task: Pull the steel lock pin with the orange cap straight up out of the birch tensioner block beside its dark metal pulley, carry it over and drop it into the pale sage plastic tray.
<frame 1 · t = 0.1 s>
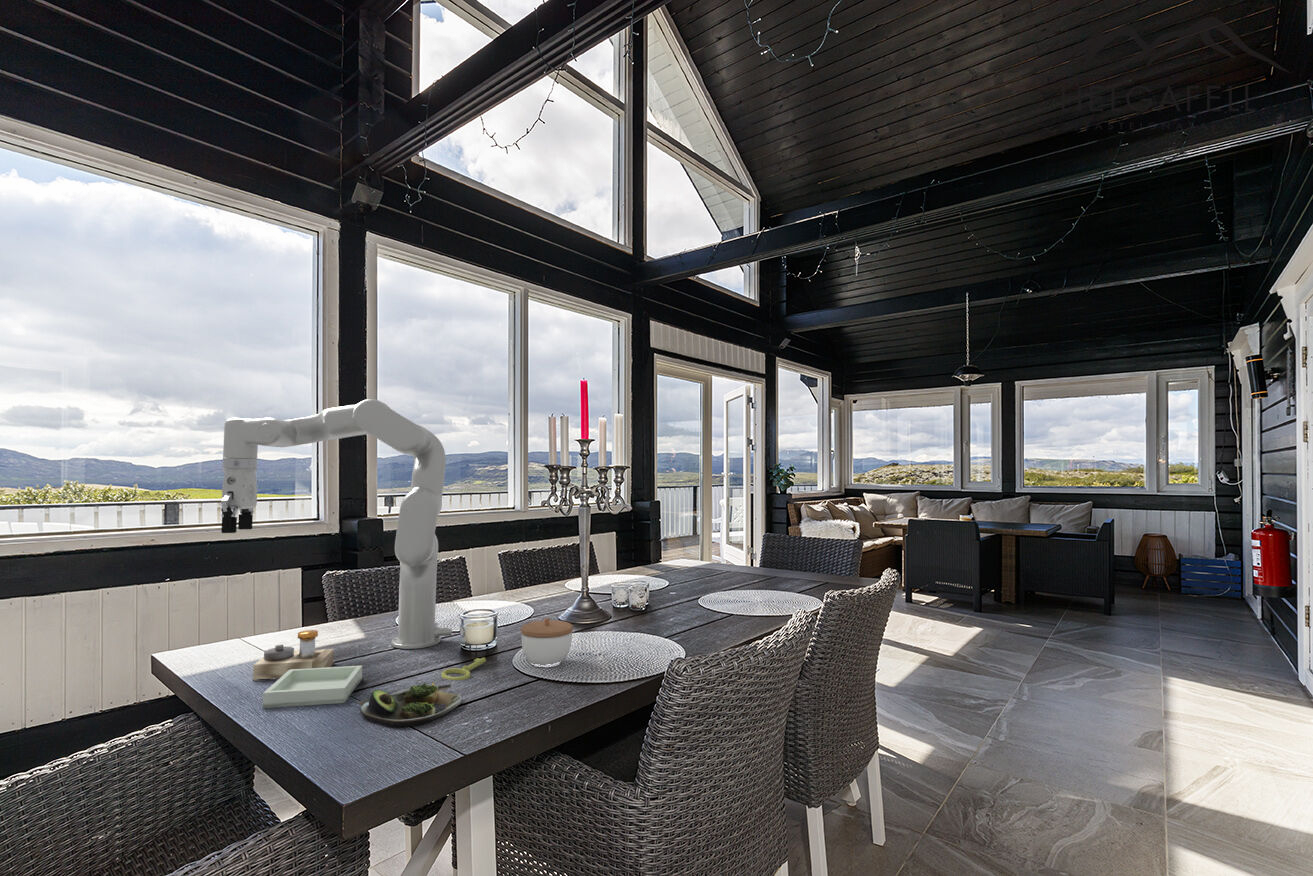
hand: (237, 531, 164), 31 cm above the table, tool pointing down, fingers open, 9 cm apart
lidded bowl: (546, 664, 155), on the table
tensioner block: (294, 671, 147), on the table
salad plate: (409, 712, 125), on the table
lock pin: (306, 671, 148), resting in tensioner block
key: (465, 674, 148), on the table
tray: (315, 692, 134), on the table
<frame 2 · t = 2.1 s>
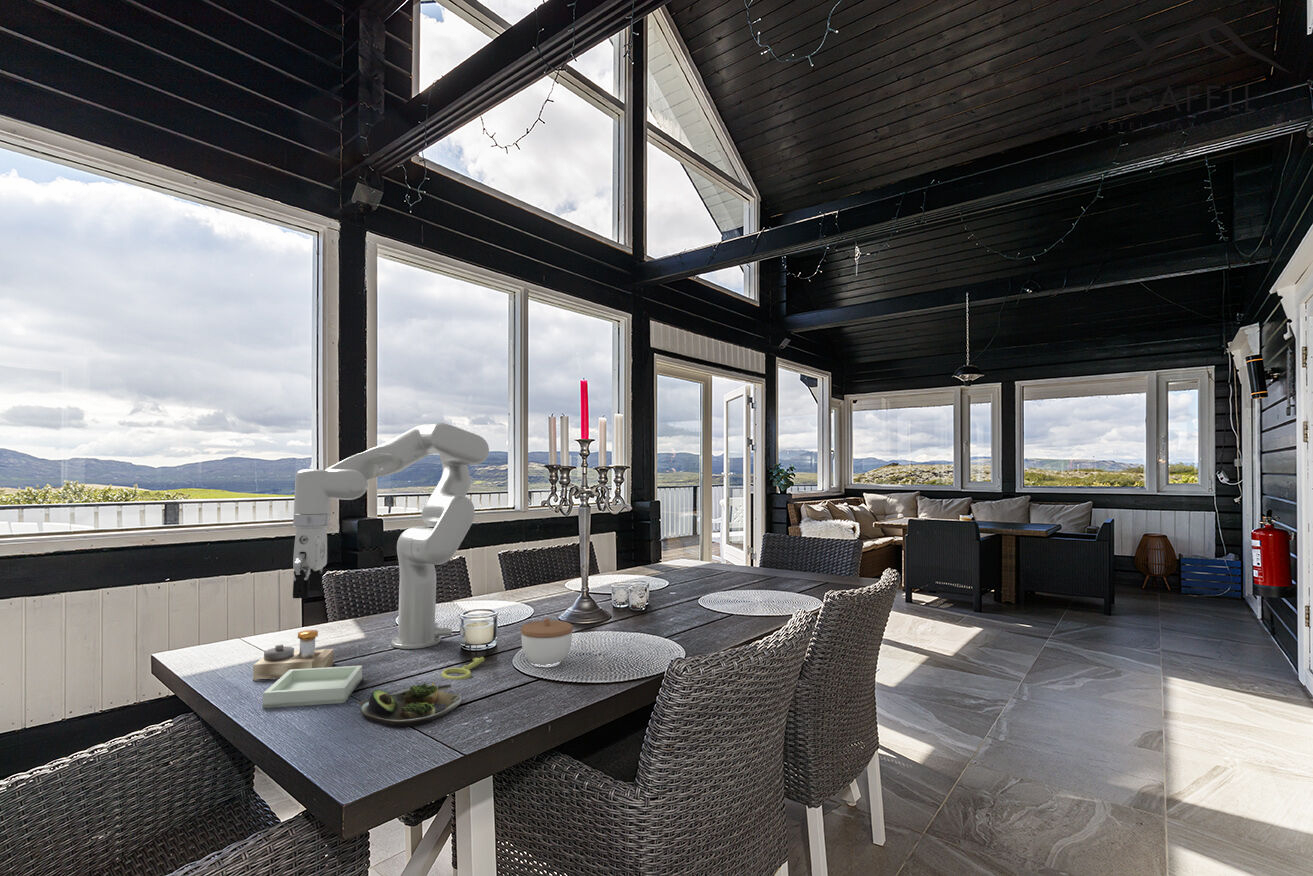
hand: (307, 594, 149), 18 cm above the table, tool pointing down, fingers open, 9 cm apart
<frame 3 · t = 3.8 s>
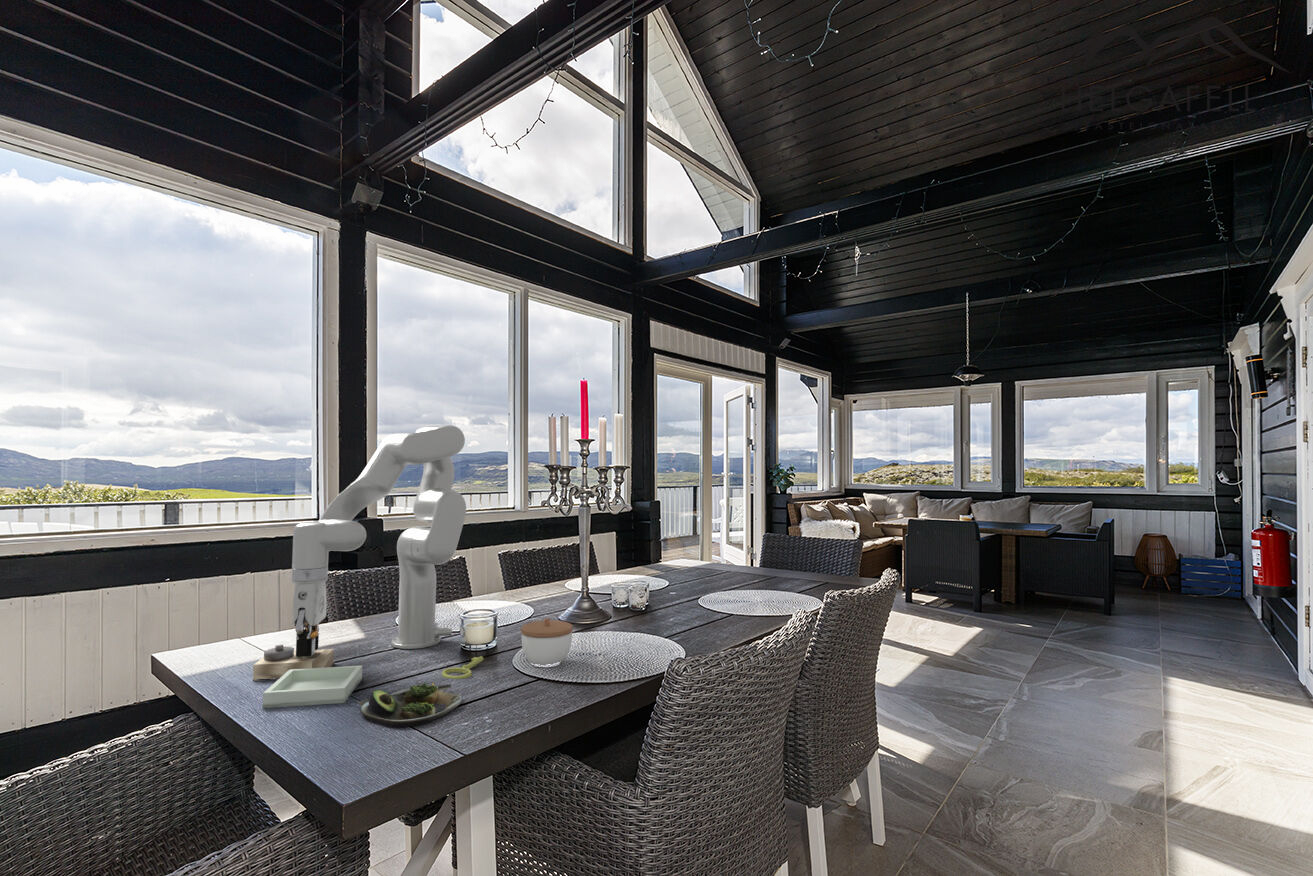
hand: (307, 652, 148), 4 cm above the table, tool pointing down, fingers closed on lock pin, 4 cm apart
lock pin: (306, 671, 148), resting in tensioner block, touching gripper
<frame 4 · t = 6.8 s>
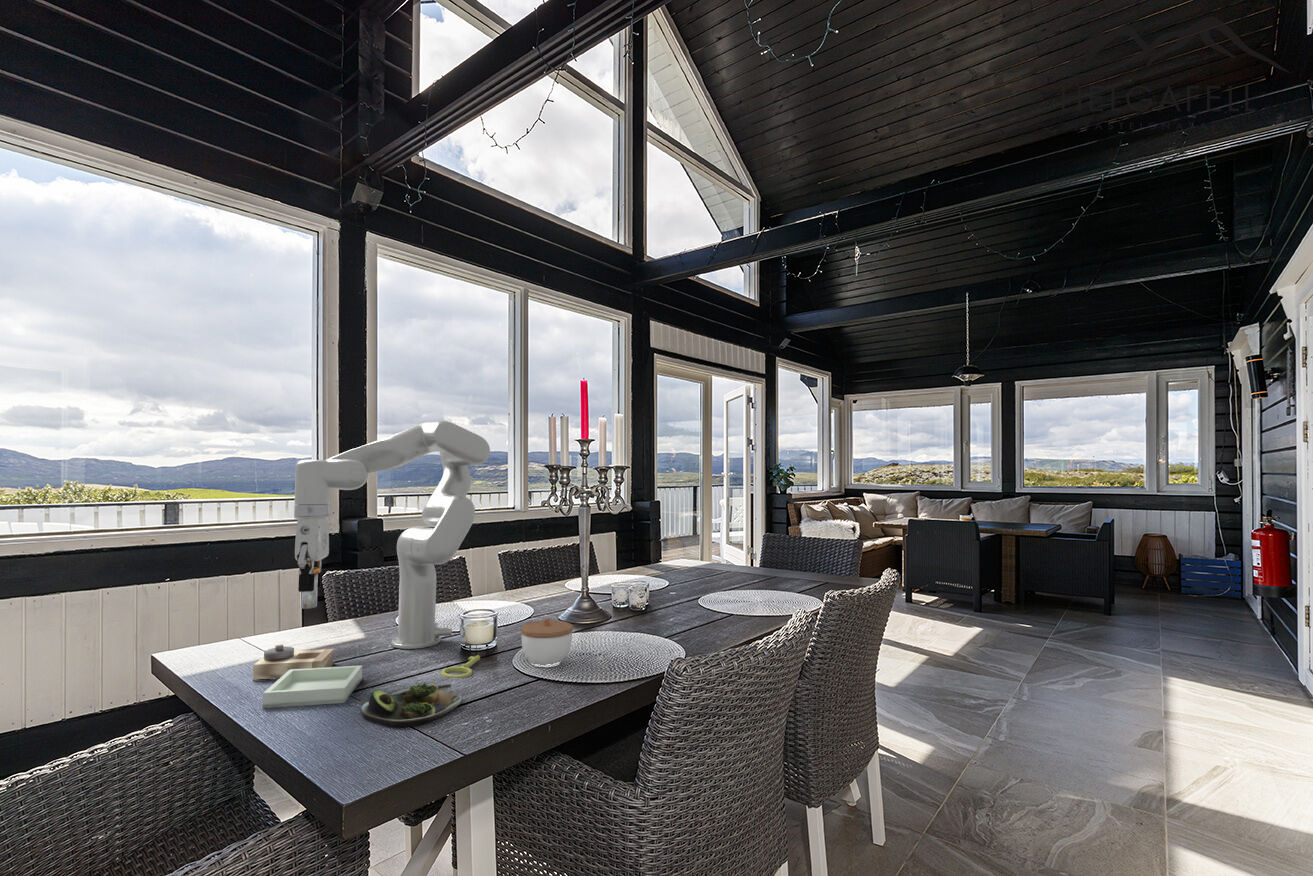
hand: (309, 588, 149), 19 cm above the table, tool pointing down, fingers closed on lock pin, 4 cm apart
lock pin: (309, 607, 148), point 15 cm above the table, touching gripper
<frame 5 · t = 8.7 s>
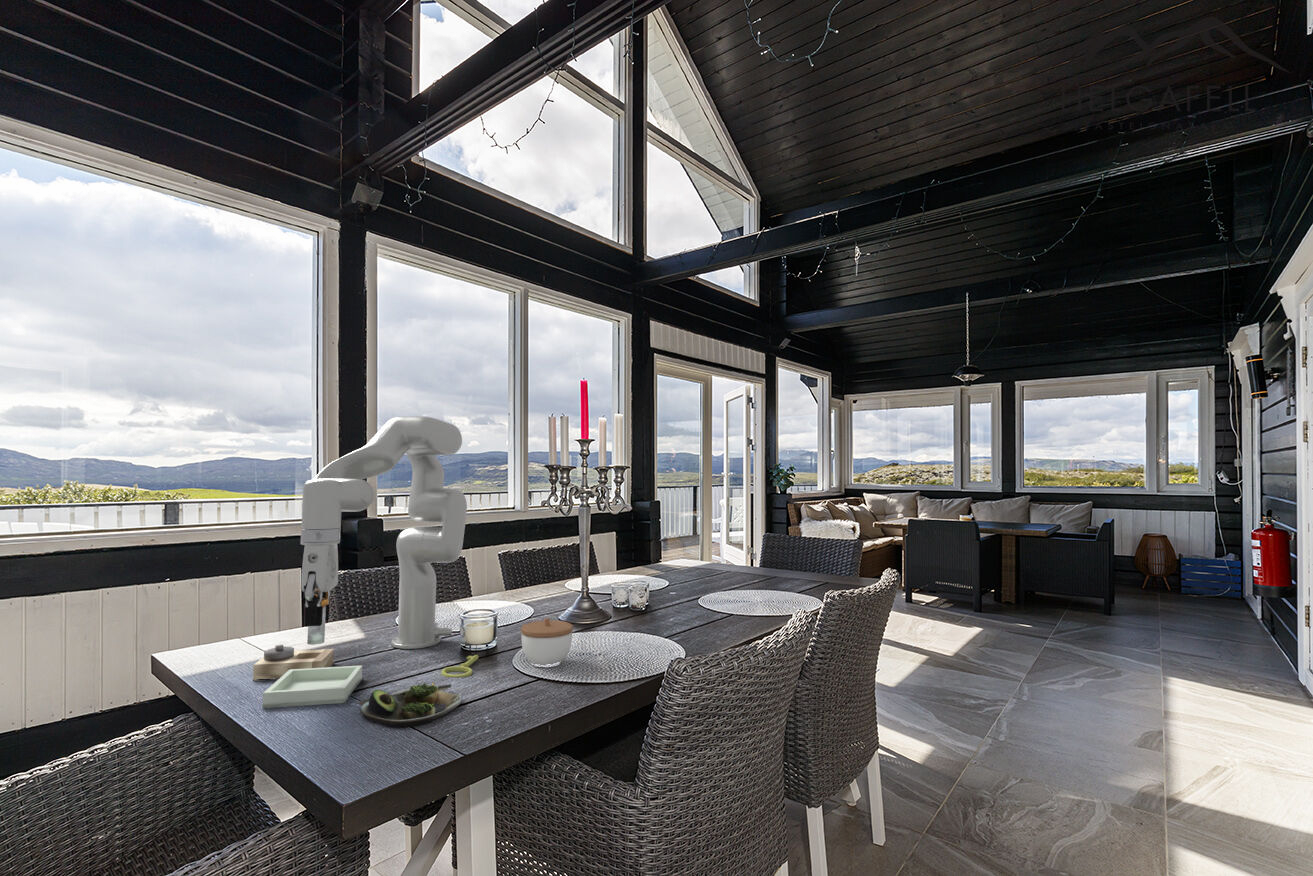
hand: (317, 622, 134), 15 cm above the table, tool pointing down, fingers closed on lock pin, 4 cm apart
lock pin: (315, 642, 134), point 11 cm above the table, touching gripper
when the fingers open (8 cm above the table, at t = 10.0 s): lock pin drops 3 cm, resting on tray.
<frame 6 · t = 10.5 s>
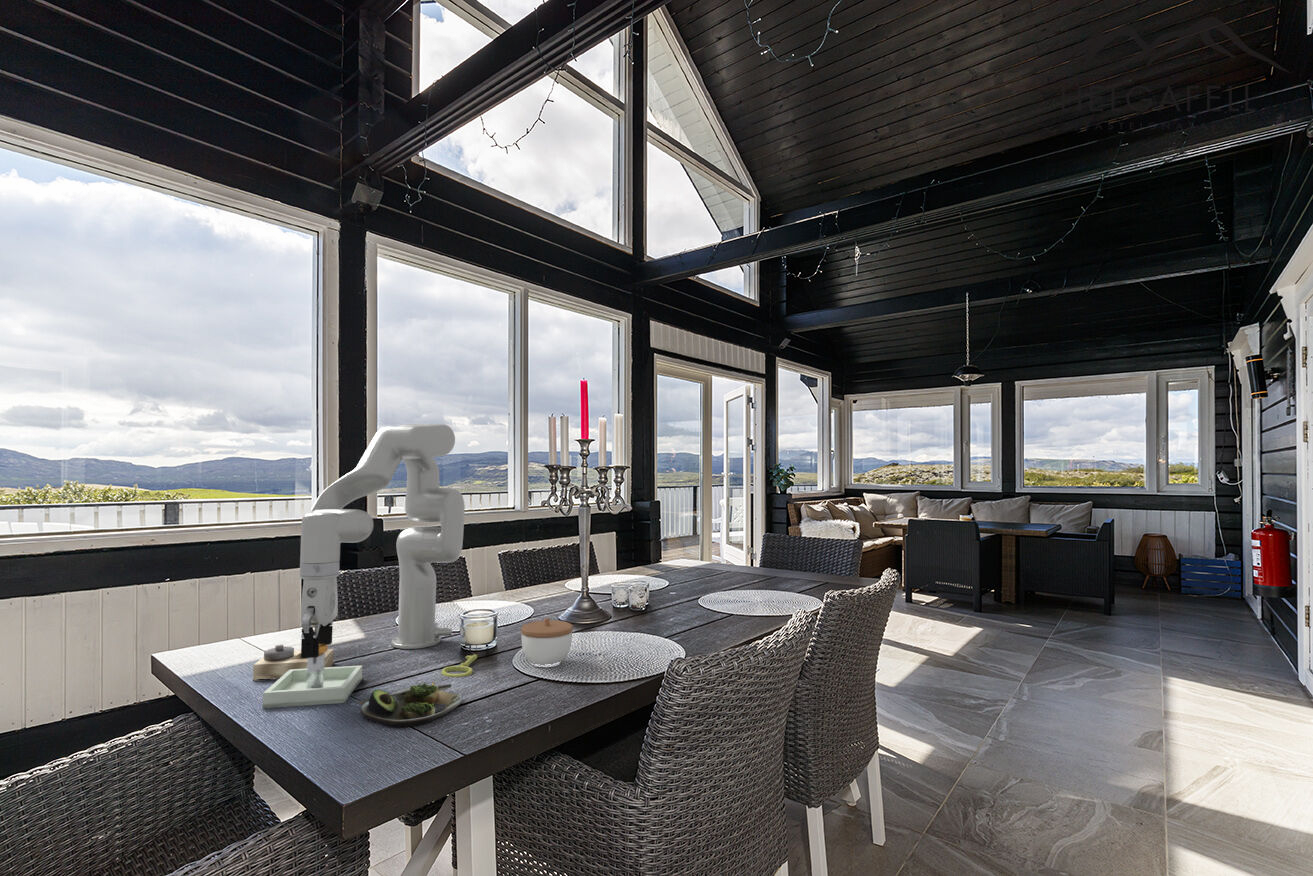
hand: (317, 650, 134), 9 cm above the table, tool pointing down, fingers open, 9 cm apart
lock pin: (314, 689, 133), point 1 cm above the table, touching tray
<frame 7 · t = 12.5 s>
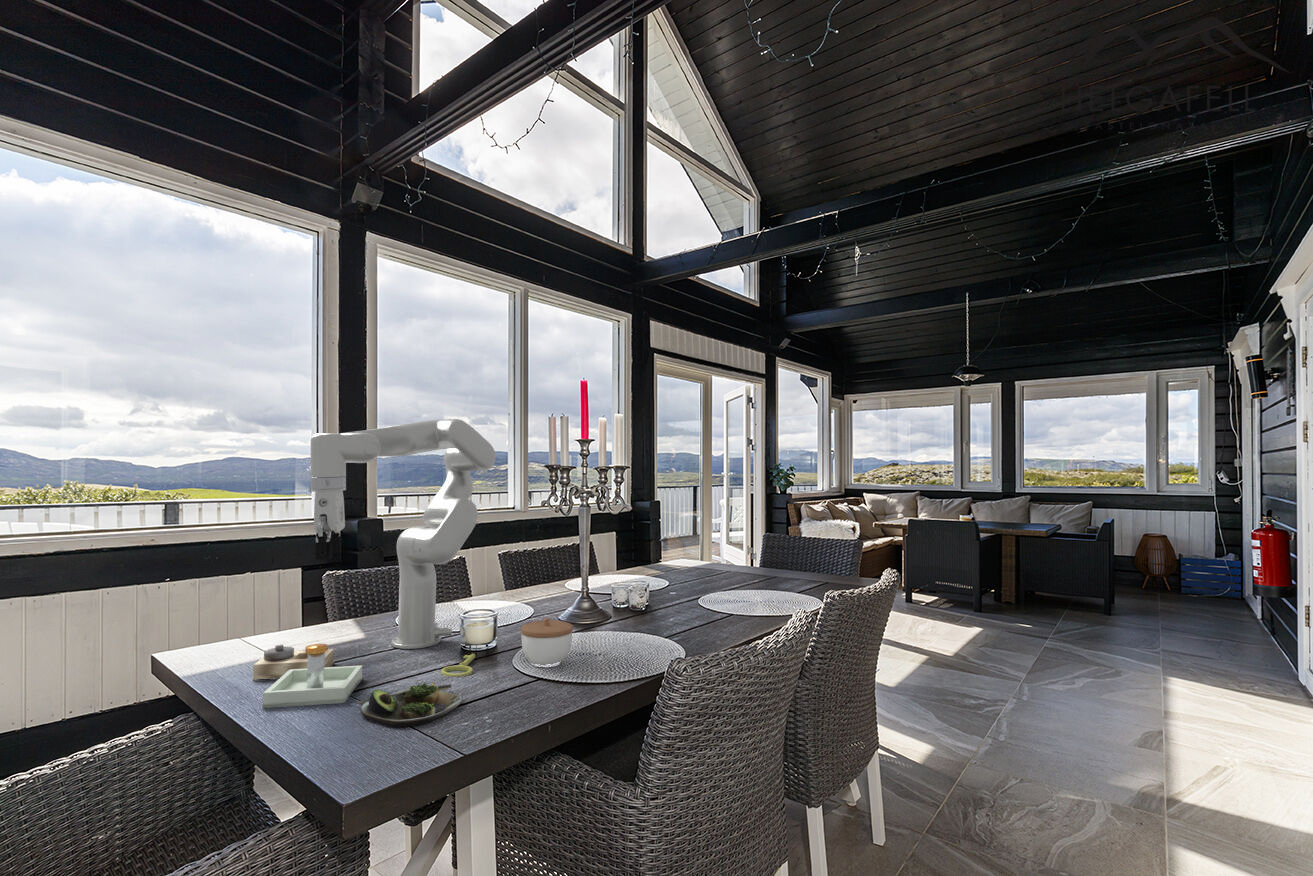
hand: (328, 556, 151), 27 cm above the table, tool pointing down, fingers open, 9 cm apart
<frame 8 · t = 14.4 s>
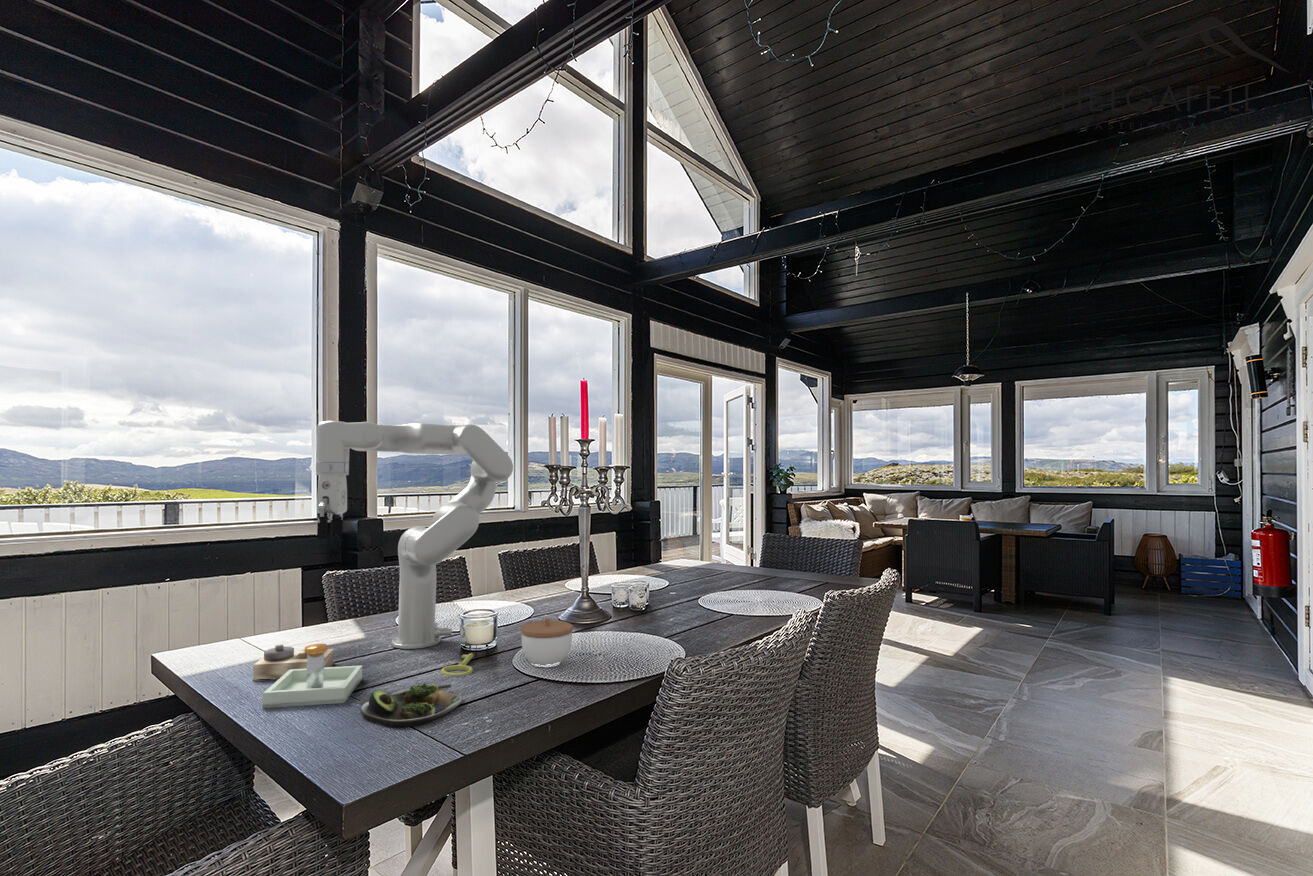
hand: (330, 536, 160), 30 cm above the table, tool pointing down, fingers open, 9 cm apart
at the end: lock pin inside the target area on the tray (0.4 cm from its centre), point 0.8 cm above the tray's base; the gripper is holding nothing; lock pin moved 17.7 cm from its start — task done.
